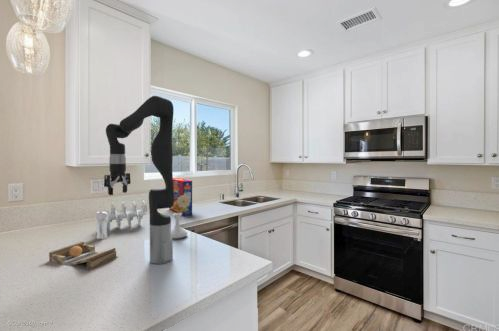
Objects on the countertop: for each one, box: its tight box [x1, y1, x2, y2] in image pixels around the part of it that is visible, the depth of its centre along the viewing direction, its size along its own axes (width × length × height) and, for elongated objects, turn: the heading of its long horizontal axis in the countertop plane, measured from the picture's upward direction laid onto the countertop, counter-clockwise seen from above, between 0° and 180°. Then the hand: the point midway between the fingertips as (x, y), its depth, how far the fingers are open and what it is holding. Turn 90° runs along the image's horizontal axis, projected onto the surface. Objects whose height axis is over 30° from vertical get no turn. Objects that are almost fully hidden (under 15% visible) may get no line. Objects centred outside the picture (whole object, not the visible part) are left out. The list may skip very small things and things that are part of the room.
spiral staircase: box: [108, 200, 148, 231], centre depth 163 cm, size 18×18×25 cm
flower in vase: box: [171, 195, 190, 239], centre depth 146 cm, size 13×11×25 cm
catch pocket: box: [48, 241, 96, 265], centre depth 116 cm, size 9×15×4 cm, turn 160°
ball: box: [69, 246, 82, 257], centre depth 116 cm, size 5×5×5 cm
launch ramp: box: [71, 247, 117, 270], centre depth 111 cm, size 14×12×6 cm
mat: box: [62, 250, 119, 272], centre depth 114 cm, size 25×15×1 cm, turn 69°
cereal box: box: [168, 177, 193, 217], centre depth 208 cm, size 28×8×28 cm, turn 40°
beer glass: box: [94, 210, 110, 240], centre depth 143 cm, size 7×7×15 cm
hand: (118, 193), depth 129 cm, fingers open, 8 cm apart
